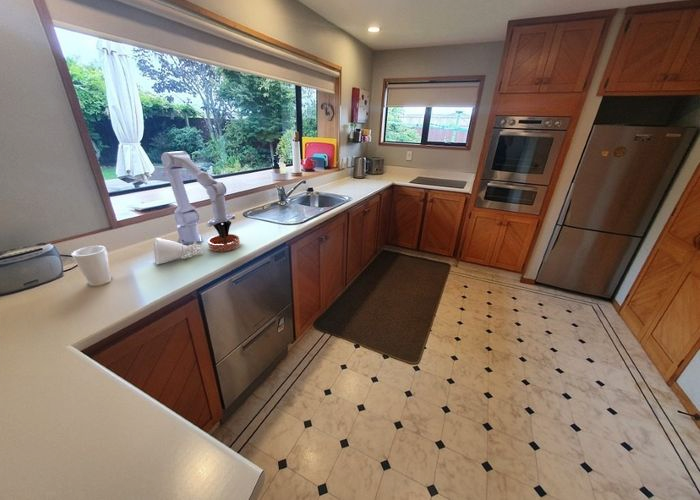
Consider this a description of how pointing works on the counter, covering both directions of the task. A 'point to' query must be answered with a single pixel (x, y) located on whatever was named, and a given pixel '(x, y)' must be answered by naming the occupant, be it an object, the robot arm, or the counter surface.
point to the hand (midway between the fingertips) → (224, 236)
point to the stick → (224, 235)
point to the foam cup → (93, 264)
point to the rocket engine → (173, 250)
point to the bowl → (217, 244)
